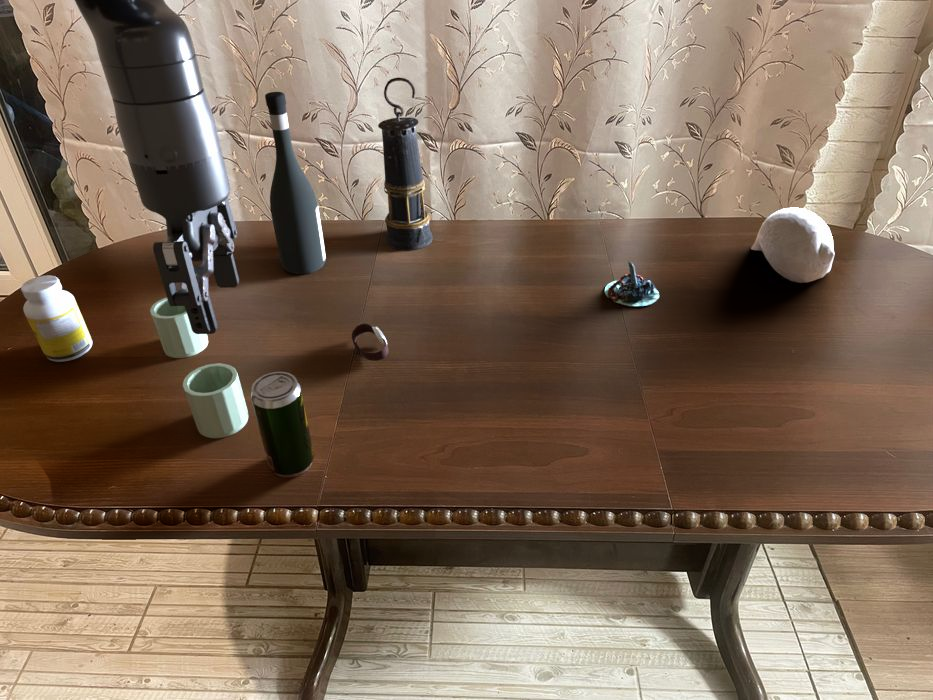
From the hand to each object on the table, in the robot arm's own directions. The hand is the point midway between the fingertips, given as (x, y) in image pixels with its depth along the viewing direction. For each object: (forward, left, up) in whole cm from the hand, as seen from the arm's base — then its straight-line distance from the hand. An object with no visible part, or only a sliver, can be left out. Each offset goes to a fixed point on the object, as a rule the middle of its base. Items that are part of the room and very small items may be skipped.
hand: (217, 307), depth 65 cm
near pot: (-2, +10, -22) cm, 24 cm away
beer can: (+3, -2, -22) cm, 23 cm away
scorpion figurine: (+65, +5, -22) cm, 69 cm away
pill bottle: (-17, +38, -22) cm, 47 cm away
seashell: (+95, -3, -22) cm, 98 cm away
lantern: (+43, +43, -22) cm, 65 cm away
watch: (+21, +14, -22) cm, 34 cm away
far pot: (-2, +30, -22) cm, 37 cm away
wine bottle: (+22, +44, -22) cm, 54 cm away
